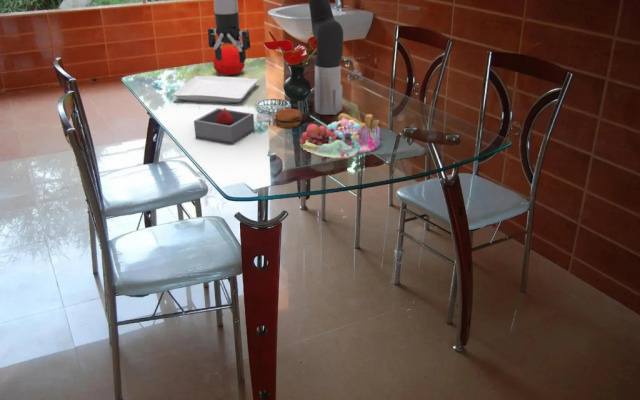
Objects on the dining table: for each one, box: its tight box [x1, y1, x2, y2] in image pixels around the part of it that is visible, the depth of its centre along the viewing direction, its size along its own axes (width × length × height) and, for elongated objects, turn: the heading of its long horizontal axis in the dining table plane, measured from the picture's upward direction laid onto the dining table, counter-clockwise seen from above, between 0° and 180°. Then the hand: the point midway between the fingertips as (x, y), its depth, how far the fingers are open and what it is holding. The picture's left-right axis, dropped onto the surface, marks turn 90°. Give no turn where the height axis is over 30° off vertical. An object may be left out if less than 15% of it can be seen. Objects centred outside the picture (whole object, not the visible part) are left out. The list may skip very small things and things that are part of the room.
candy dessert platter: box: [299, 112, 381, 160], centre depth 203 cm, size 25×24×9 cm
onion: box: [216, 107, 234, 126], centre depth 211 cm, size 6×6×8 cm
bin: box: [193, 107, 255, 146], centre depth 212 cm, size 14×14×6 cm
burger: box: [273, 107, 303, 129], centre depth 222 cm, size 10×10×5 cm
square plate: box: [172, 75, 260, 104], centre depth 252 cm, size 27×27×4 cm
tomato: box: [212, 46, 246, 76], centre depth 277 cm, size 13×13×13 cm
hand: (230, 61), depth 210 cm, fingers open, 8 cm apart
